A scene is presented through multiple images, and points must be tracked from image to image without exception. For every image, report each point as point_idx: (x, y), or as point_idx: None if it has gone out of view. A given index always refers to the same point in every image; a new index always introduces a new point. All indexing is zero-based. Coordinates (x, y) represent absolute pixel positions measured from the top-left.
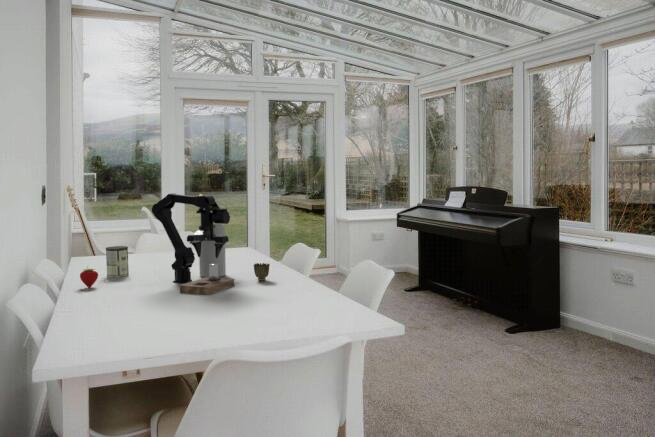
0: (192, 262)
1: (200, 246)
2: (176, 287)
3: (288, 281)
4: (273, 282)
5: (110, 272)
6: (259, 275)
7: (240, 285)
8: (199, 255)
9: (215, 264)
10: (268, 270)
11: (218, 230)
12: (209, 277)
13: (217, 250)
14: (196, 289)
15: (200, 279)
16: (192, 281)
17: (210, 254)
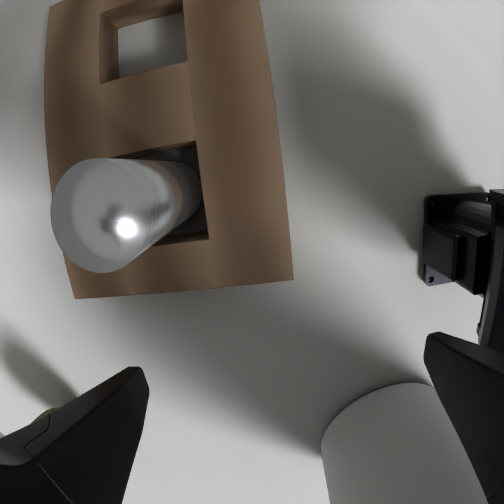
0: (481, 326)
1: (490, 475)
2: (381, 69)
3: (18, 416)
4: (30, 394)
5: None
6: (52, 408)
7: (69, 295)
8: (435, 356)
9: (66, 217)
10: None
11: None
12: (162, 163)
13: (39, 419)
14: None
15: (265, 161)
16: (266, 67)
17: (406, 500)
